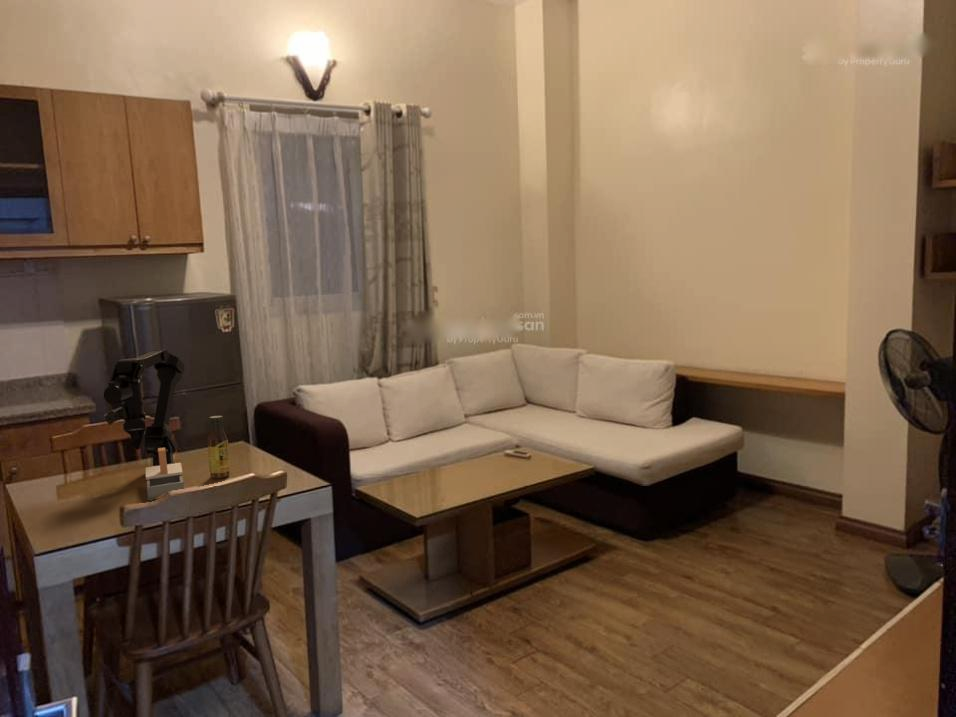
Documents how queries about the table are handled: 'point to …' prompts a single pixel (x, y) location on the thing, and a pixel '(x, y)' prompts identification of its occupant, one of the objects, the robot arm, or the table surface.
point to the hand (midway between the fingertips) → (137, 446)
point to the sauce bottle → (218, 449)
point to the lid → (163, 467)
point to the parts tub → (163, 485)
